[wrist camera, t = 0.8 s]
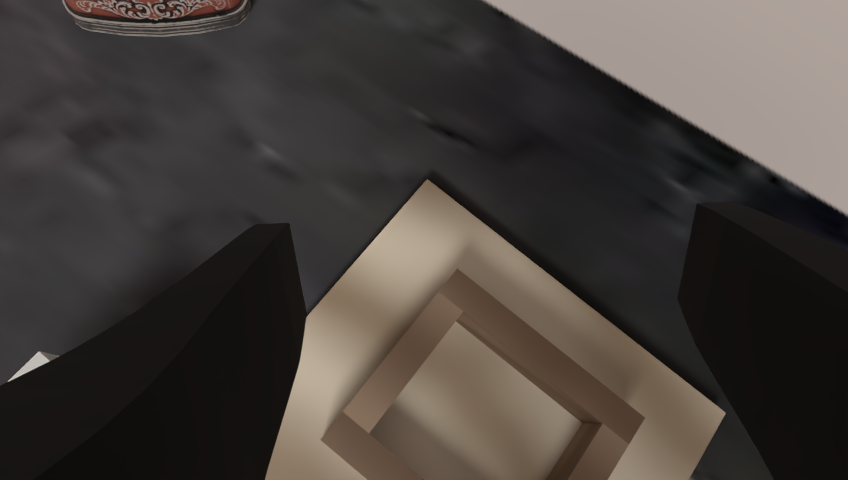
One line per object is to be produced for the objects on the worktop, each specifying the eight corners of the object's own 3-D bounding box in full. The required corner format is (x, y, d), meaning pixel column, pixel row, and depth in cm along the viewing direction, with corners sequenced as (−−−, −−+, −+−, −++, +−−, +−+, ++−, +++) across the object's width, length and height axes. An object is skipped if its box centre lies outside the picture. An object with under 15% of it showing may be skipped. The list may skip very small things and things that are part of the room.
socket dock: (533, 732, 21) (561, 777, 19) (200, 443, 23) (181, 446, 20) (714, 413, 26) (757, 412, 23) (424, 185, 27) (433, 160, 24)
